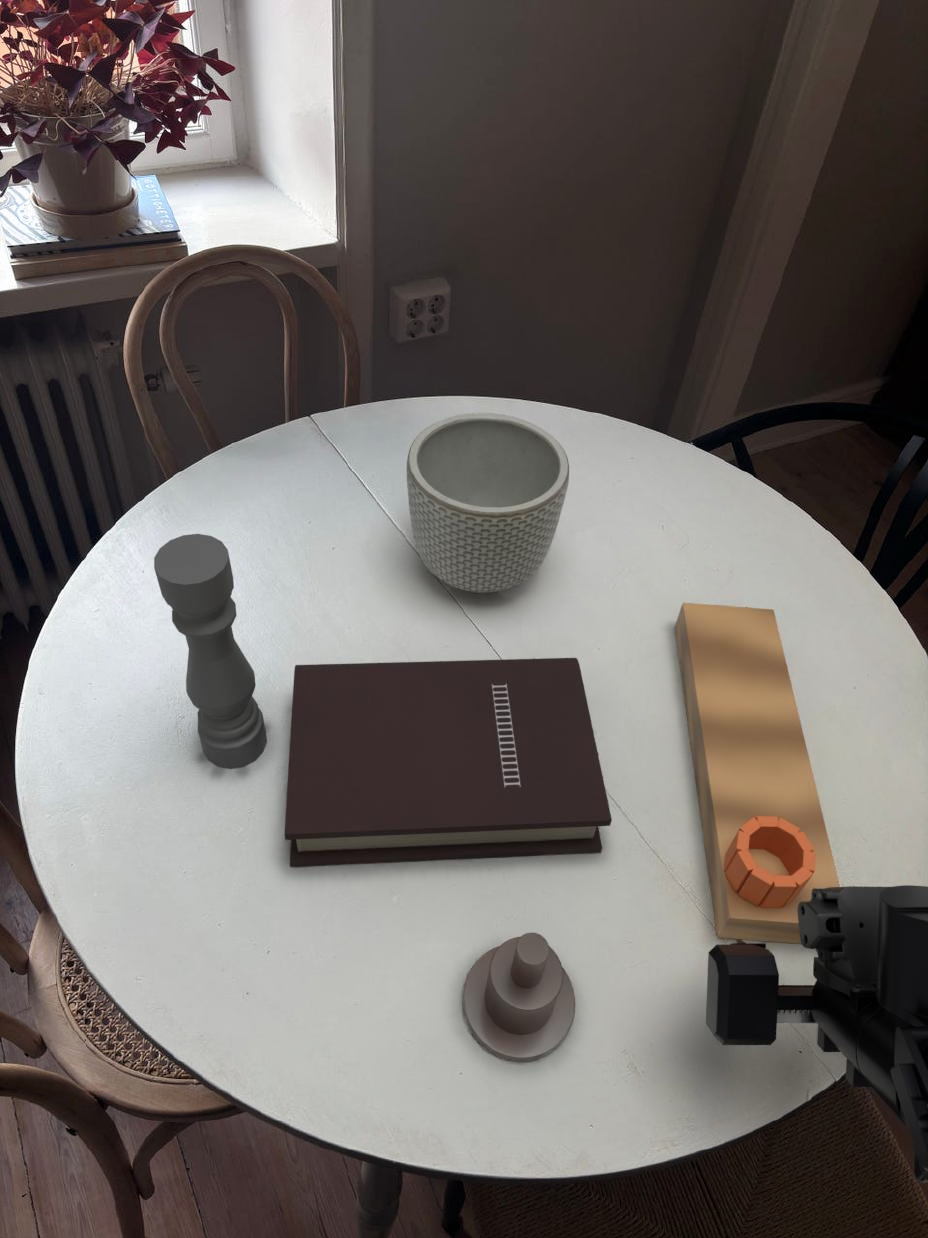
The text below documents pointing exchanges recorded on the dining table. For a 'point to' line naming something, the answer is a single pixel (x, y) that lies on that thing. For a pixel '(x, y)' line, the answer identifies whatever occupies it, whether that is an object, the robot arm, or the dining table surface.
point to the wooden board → (747, 757)
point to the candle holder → (212, 648)
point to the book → (442, 762)
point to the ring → (780, 843)
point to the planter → (485, 499)
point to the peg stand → (519, 999)
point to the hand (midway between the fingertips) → (795, 946)
